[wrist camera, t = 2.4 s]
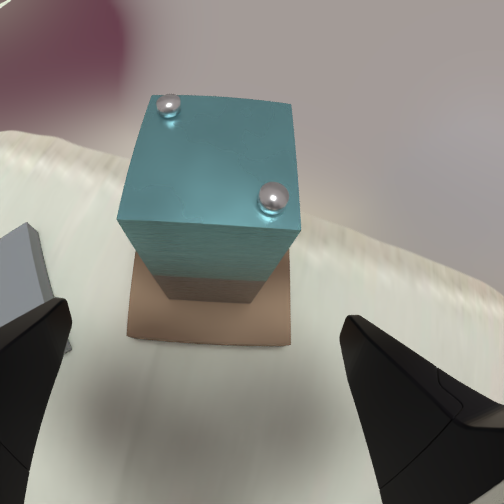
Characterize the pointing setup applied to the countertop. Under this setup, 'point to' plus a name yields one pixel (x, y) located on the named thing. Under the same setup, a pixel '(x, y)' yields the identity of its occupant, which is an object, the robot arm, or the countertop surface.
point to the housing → (212, 195)
